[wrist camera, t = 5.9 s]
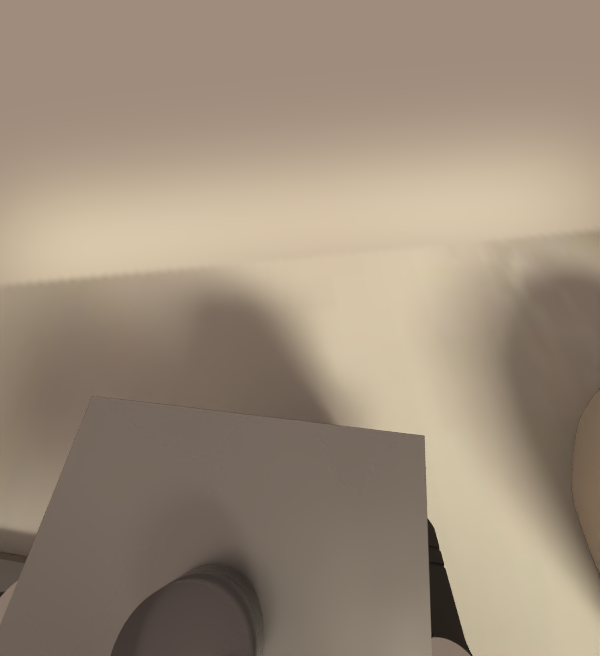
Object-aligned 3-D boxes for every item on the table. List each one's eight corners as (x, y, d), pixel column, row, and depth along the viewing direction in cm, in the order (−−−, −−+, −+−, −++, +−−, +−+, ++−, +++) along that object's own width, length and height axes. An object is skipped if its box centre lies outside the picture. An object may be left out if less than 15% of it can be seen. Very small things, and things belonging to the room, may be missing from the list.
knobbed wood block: (361, 467, 14) (445, 426, 5) (353, 646, 12) (505, 1444, 2) (229, 450, 15) (53, 380, 5) (195, 615, 13) (-280, 1094, 3)
